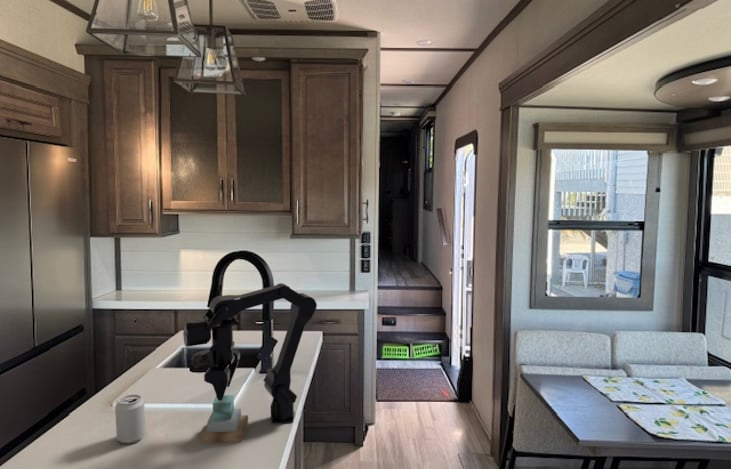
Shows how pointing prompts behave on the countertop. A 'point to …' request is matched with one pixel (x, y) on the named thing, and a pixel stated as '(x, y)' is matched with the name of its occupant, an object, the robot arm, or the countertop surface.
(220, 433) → the walnut slab
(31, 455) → the countertop surface
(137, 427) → the can
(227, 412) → the teal block
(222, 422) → the grey block
